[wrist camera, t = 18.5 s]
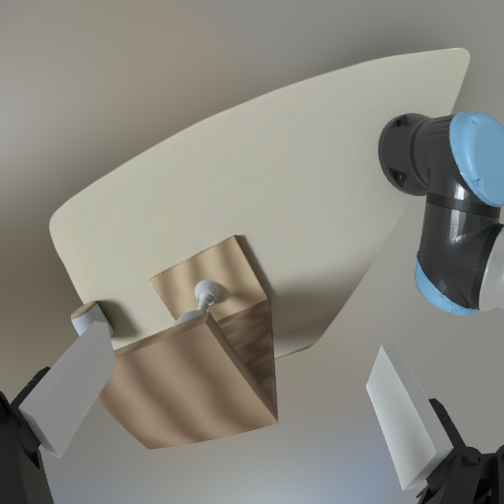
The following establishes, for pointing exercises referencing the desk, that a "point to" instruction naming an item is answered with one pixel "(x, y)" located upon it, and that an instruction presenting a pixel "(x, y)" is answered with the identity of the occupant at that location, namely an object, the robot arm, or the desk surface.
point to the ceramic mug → (89, 318)
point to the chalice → (203, 299)
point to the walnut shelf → (200, 358)
